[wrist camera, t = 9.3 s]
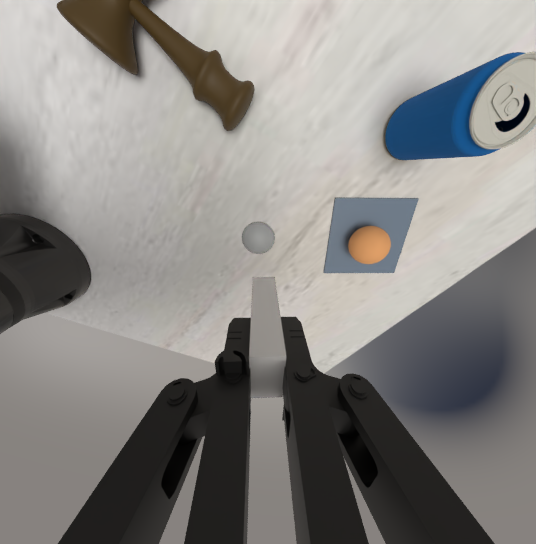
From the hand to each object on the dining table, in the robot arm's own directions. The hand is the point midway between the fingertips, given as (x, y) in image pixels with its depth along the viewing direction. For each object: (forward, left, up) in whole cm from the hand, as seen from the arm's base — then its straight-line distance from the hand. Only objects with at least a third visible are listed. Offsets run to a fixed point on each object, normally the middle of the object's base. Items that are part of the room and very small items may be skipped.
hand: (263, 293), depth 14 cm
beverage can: (+18, +12, -19) cm, 29 cm away
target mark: (+16, -2, -18) cm, 25 cm away
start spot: (-1, -2, -18) cm, 18 cm away
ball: (+15, -2, -16) cm, 22 cm away
